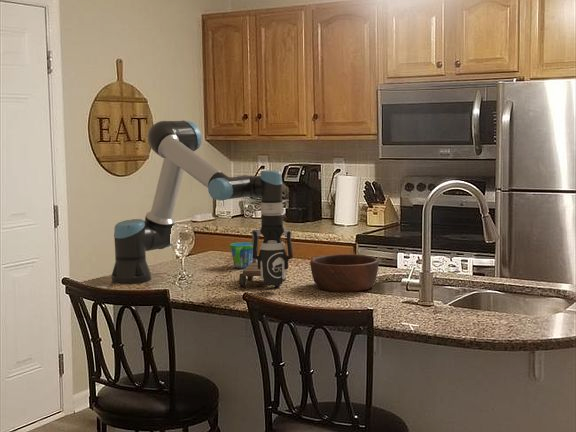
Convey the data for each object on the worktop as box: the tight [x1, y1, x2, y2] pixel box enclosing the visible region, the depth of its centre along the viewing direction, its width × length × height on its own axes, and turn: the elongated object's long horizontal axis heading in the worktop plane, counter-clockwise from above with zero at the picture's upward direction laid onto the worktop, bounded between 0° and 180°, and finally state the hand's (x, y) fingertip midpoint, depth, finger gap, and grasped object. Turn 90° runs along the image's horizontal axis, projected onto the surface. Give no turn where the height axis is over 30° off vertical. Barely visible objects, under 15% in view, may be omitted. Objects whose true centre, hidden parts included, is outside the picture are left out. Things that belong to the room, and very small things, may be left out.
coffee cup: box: [258, 240, 287, 287], centre depth 274 cm, size 10×10×15 cm
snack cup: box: [229, 241, 253, 270], centre depth 326 cm, size 16×10×10 cm
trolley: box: [238, 229, 287, 288], centre depth 290 cm, size 19×14×19 cm
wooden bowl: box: [309, 253, 380, 293], centre depth 282 cm, size 25×25×10 cm
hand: (273, 278), depth 275 cm, fingers closed on coffee cup, 7 cm apart
